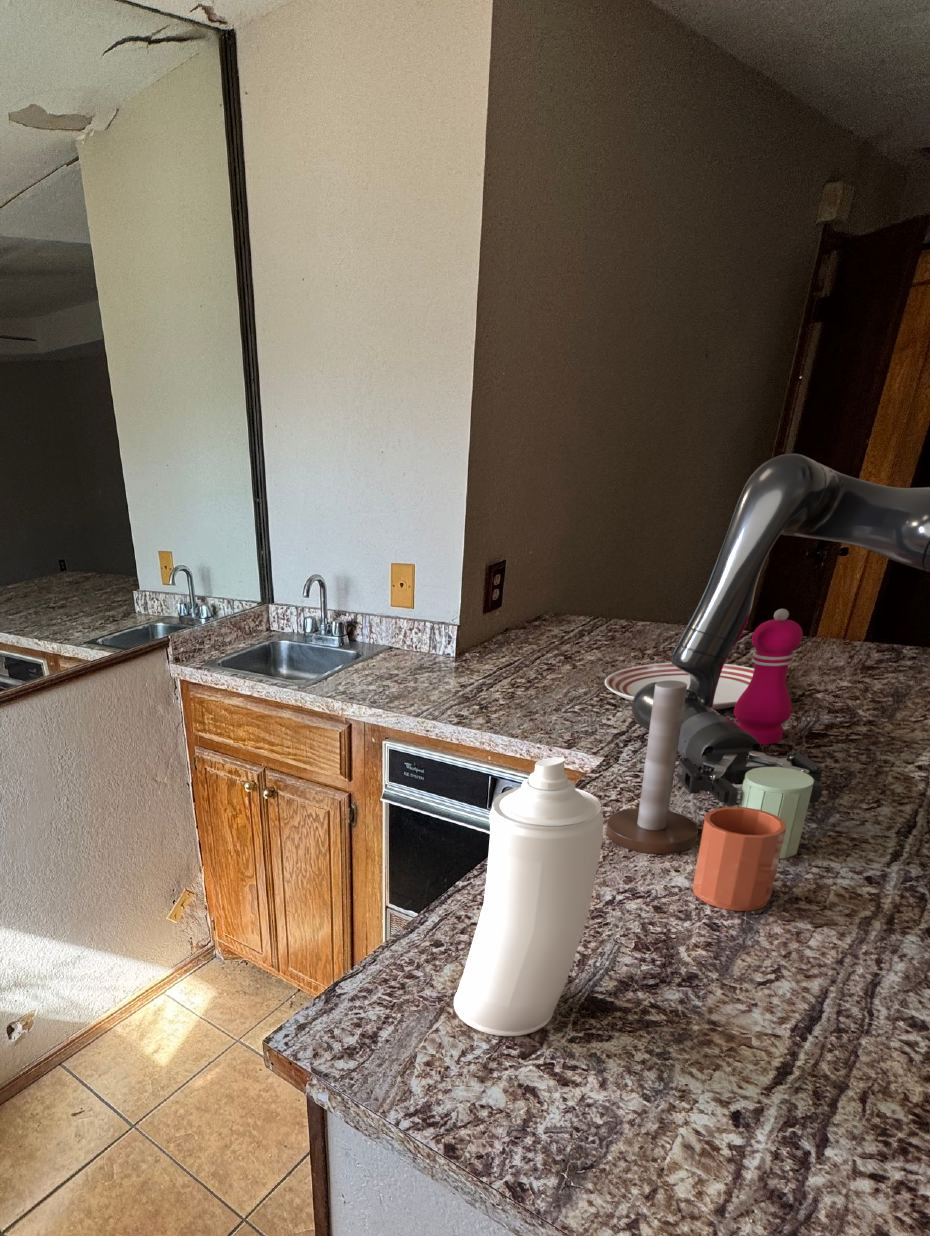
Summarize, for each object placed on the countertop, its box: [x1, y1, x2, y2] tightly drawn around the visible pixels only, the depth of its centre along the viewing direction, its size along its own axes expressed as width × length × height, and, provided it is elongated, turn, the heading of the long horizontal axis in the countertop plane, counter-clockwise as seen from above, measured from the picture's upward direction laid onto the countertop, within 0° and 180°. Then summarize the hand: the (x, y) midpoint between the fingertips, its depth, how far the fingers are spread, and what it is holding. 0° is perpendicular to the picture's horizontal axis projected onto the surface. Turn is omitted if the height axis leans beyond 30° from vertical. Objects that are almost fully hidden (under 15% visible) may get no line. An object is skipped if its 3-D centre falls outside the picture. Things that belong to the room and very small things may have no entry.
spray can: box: [453, 756, 604, 1037], centre depth 66 cm, size 12×11×25 cm
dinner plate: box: [604, 662, 754, 711], centre depth 135 cm, size 28×27×3 cm
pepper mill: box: [733, 608, 804, 745], centre depth 112 cm, size 7×7×20 cm
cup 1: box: [738, 767, 814, 859], centre depth 87 cm, size 6×6×9 cm
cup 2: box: [692, 806, 786, 912], centre depth 79 cm, size 7×7×9 cm
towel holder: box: [605, 680, 699, 855], centre depth 90 cm, size 10×10×20 cm
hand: (775, 797), depth 86 cm, fingers open, 8 cm apart
